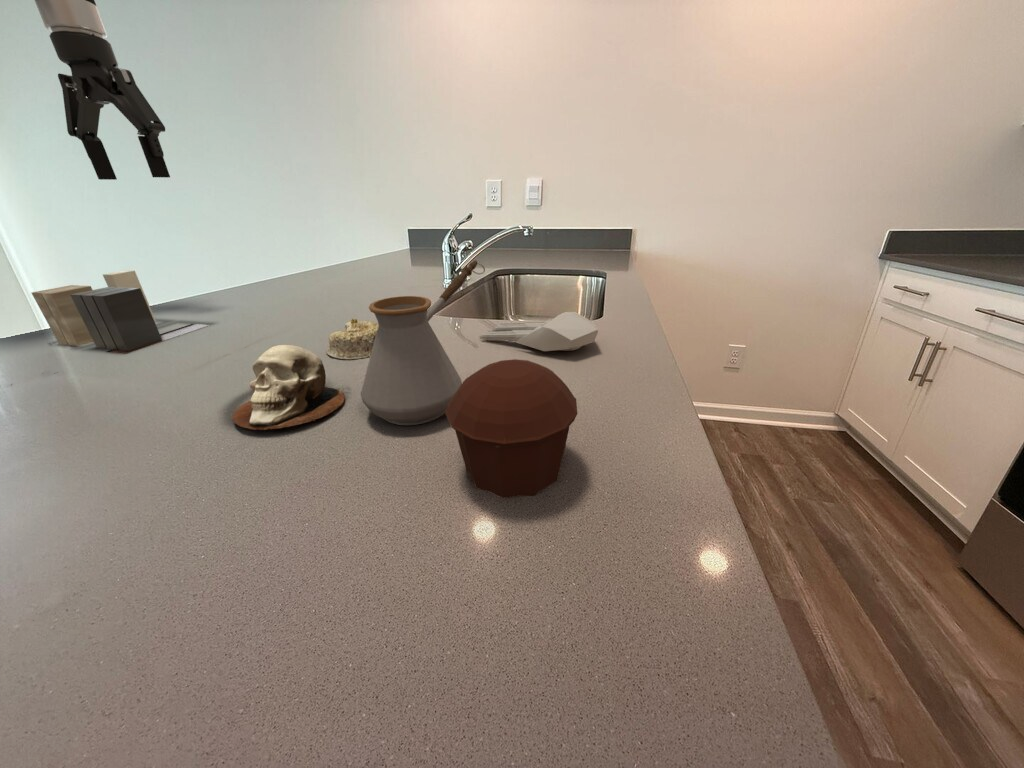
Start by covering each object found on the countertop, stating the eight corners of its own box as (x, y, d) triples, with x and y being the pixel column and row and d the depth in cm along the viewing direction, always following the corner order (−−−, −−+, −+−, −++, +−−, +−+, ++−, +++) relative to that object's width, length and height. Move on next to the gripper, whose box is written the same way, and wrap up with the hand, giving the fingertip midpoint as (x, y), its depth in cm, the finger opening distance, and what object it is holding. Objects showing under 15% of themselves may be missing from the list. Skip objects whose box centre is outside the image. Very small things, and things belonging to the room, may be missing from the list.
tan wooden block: (50, 352, 69) (17, 293, 65) (142, 325, 82) (119, 274, 78) (84, 356, 67) (52, 295, 63) (172, 328, 80) (151, 275, 76)
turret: (505, 338, 77) (500, 313, 75) (608, 337, 66) (606, 308, 65) (475, 356, 69) (470, 329, 67) (588, 358, 59) (585, 326, 57)
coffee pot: (422, 445, 42) (401, 301, 35) (343, 420, 47) (312, 289, 40) (518, 369, 58) (516, 261, 52) (453, 356, 63) (444, 257, 57)
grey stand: (93, 356, 67) (61, 295, 63) (180, 328, 80) (159, 276, 76) (129, 360, 65) (99, 297, 61) (212, 331, 78) (192, 277, 74)
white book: (126, 327, 77) (102, 274, 73) (148, 321, 81) (126, 270, 76) (135, 328, 77) (111, 274, 72) (156, 322, 80) (134, 270, 76)
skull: (304, 434, 42) (224, 362, 40) (264, 476, 47) (192, 413, 45) (369, 381, 52) (308, 322, 50) (331, 420, 57) (274, 367, 55)
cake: (395, 340, 72) (393, 310, 70) (381, 363, 63) (378, 330, 61) (338, 337, 72) (334, 308, 69) (316, 360, 63) (310, 327, 60)
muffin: (497, 422, 45) (493, 337, 41) (592, 450, 40) (599, 356, 36) (426, 484, 36) (411, 383, 32) (537, 530, 31) (538, 417, 27)
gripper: (159, 34, 68) (204, 176, 77) (54, 50, 74) (108, 180, 83) (109, 19, 62) (165, 176, 71) (-1, 37, 68) (63, 180, 77)
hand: (134, 178), depth 77 cm, fingers open, 13 cm apart
